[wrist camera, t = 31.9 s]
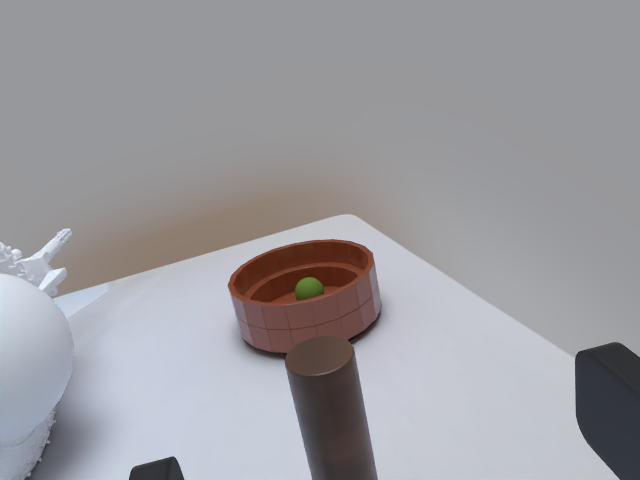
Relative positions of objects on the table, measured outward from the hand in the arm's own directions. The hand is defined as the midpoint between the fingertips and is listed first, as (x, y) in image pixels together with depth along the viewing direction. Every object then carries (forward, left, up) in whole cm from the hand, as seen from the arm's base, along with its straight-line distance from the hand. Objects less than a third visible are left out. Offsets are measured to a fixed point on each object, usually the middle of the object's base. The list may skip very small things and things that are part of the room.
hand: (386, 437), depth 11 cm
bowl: (+6, -43, -21) cm, 49 cm away
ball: (+6, -45, -19) cm, 49 cm away
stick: (+2, -11, -21) cm, 24 cm away
